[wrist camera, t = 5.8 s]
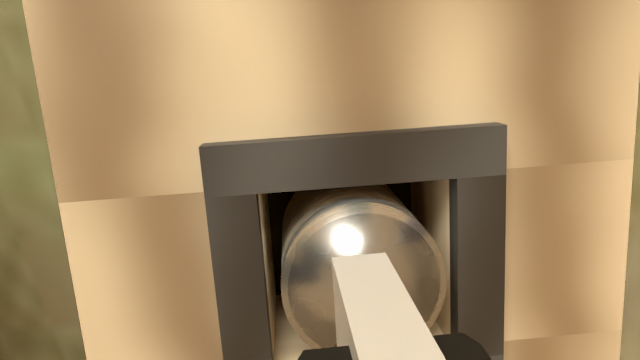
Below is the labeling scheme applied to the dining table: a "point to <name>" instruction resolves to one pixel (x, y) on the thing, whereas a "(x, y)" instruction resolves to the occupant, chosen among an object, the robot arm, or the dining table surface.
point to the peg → (352, 239)
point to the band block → (339, 160)
